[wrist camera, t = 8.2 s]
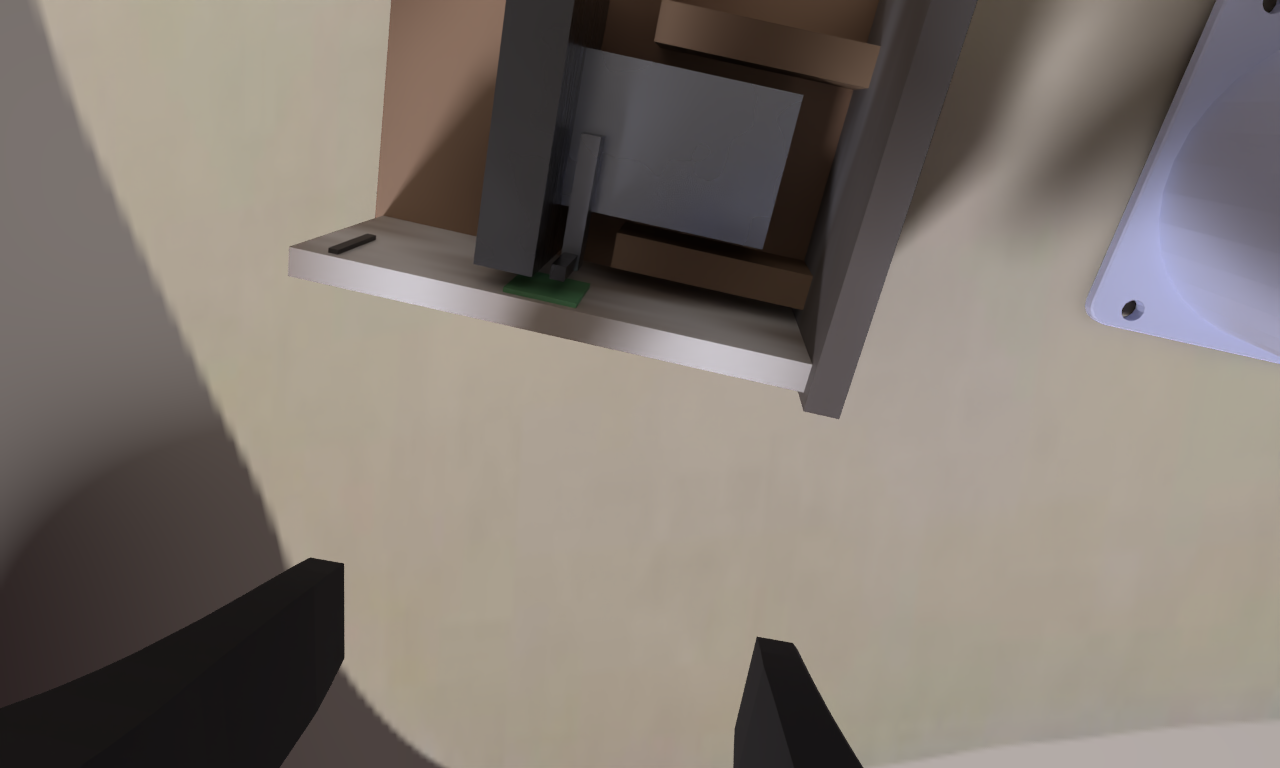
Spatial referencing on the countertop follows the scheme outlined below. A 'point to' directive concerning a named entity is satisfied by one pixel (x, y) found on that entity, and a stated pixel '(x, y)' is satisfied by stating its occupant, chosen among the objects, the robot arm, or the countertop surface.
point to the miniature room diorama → (655, 256)
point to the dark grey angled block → (618, 144)
